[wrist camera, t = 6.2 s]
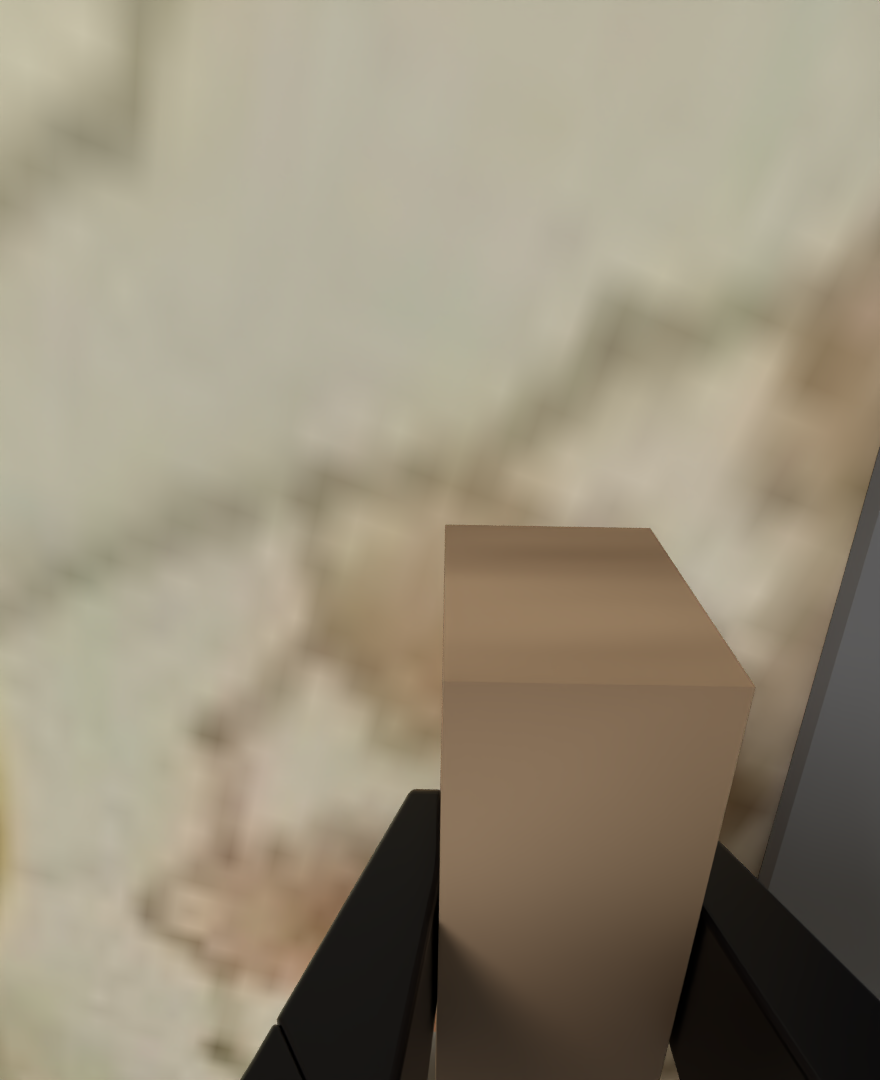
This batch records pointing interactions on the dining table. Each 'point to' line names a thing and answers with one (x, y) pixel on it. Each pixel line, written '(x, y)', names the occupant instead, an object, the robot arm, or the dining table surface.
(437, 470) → the dining table surface
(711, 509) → the dining table surface
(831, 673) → the mat
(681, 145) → the dining table surface
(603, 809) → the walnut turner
